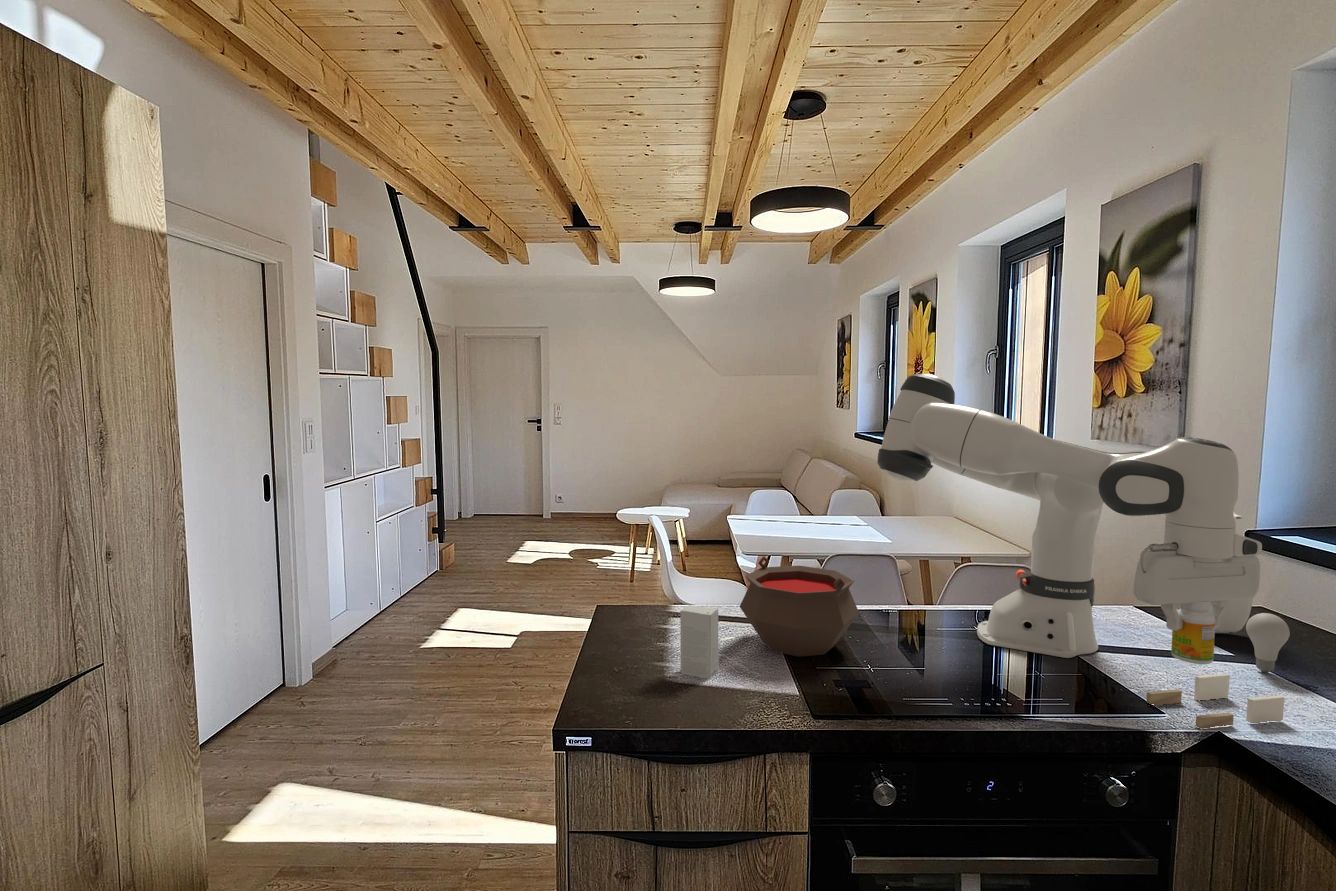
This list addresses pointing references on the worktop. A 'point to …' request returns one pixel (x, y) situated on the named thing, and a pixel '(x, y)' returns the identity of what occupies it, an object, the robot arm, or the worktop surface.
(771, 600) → the brown pot
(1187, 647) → the supplement bottle
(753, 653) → the worktop surface
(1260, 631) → the lightbulb
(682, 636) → the skincare box
